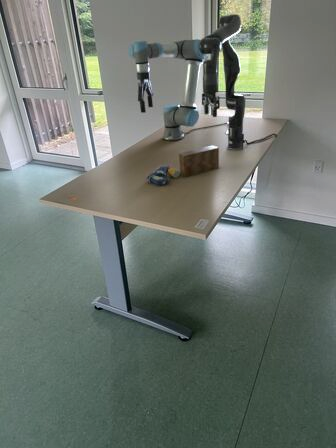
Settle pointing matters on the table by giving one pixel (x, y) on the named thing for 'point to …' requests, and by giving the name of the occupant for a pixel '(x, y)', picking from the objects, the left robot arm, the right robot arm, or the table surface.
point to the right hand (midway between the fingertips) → (210, 115)
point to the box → (199, 160)
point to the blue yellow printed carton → (162, 175)
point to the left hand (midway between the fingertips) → (147, 109)
